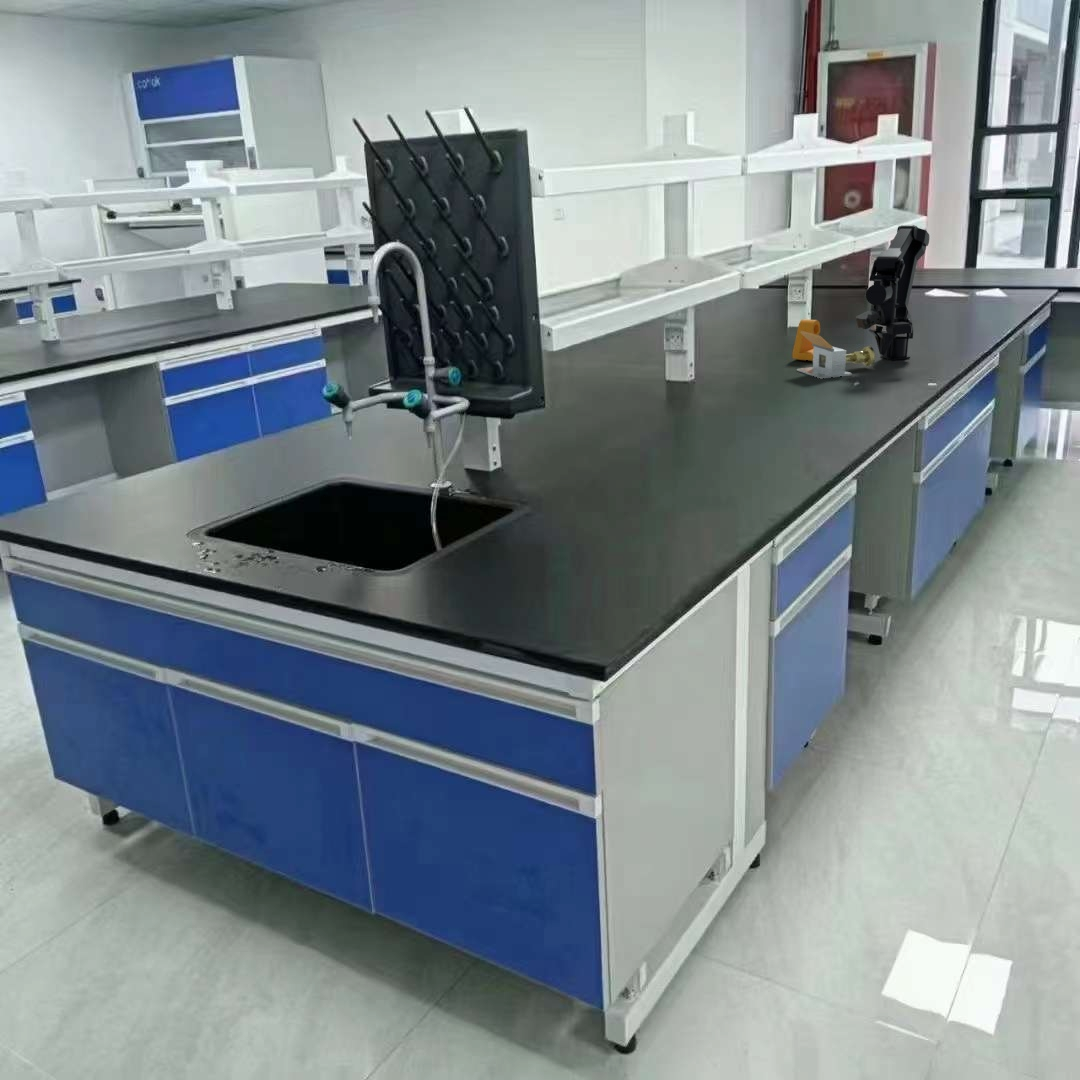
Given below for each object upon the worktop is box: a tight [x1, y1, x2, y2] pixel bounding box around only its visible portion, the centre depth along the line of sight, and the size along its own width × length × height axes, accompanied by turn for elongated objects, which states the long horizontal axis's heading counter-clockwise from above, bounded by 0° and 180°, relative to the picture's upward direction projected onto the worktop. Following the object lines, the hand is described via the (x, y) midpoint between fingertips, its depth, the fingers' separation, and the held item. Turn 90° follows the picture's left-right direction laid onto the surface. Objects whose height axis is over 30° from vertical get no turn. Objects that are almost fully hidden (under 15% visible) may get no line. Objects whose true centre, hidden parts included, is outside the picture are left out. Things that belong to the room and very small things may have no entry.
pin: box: [846, 346, 876, 367], centre depth 301 cm, size 14×6×6 cm, turn 107°
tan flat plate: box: [800, 331, 834, 352], centre depth 296 cm, size 6×10×1 cm
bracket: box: [792, 318, 821, 362], centre depth 318 cm, size 11×7×12 cm, turn 138°
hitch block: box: [796, 345, 853, 380], centre depth 299 cm, size 10×13×7 cm
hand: (882, 354), depth 303 cm, fingers closed
